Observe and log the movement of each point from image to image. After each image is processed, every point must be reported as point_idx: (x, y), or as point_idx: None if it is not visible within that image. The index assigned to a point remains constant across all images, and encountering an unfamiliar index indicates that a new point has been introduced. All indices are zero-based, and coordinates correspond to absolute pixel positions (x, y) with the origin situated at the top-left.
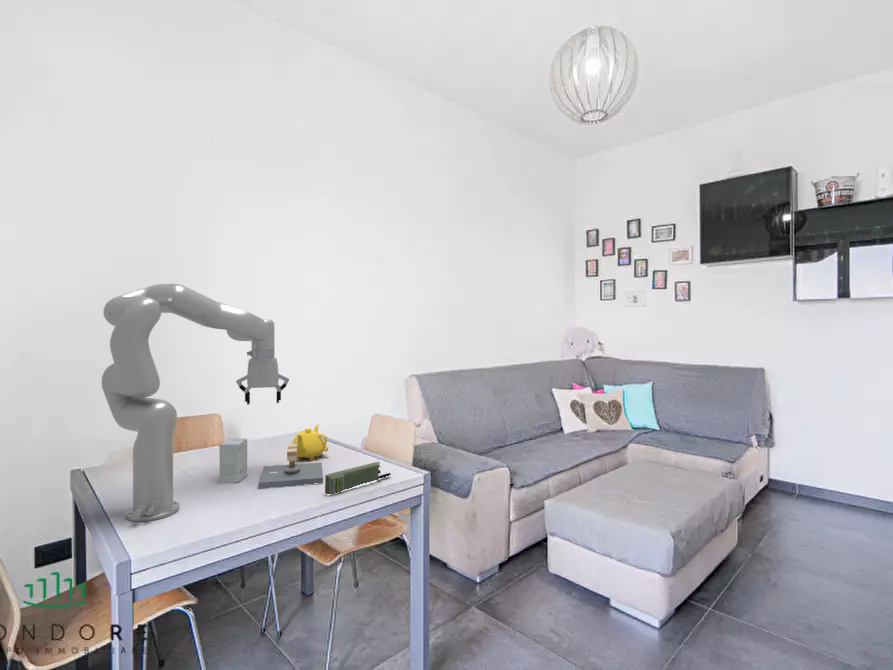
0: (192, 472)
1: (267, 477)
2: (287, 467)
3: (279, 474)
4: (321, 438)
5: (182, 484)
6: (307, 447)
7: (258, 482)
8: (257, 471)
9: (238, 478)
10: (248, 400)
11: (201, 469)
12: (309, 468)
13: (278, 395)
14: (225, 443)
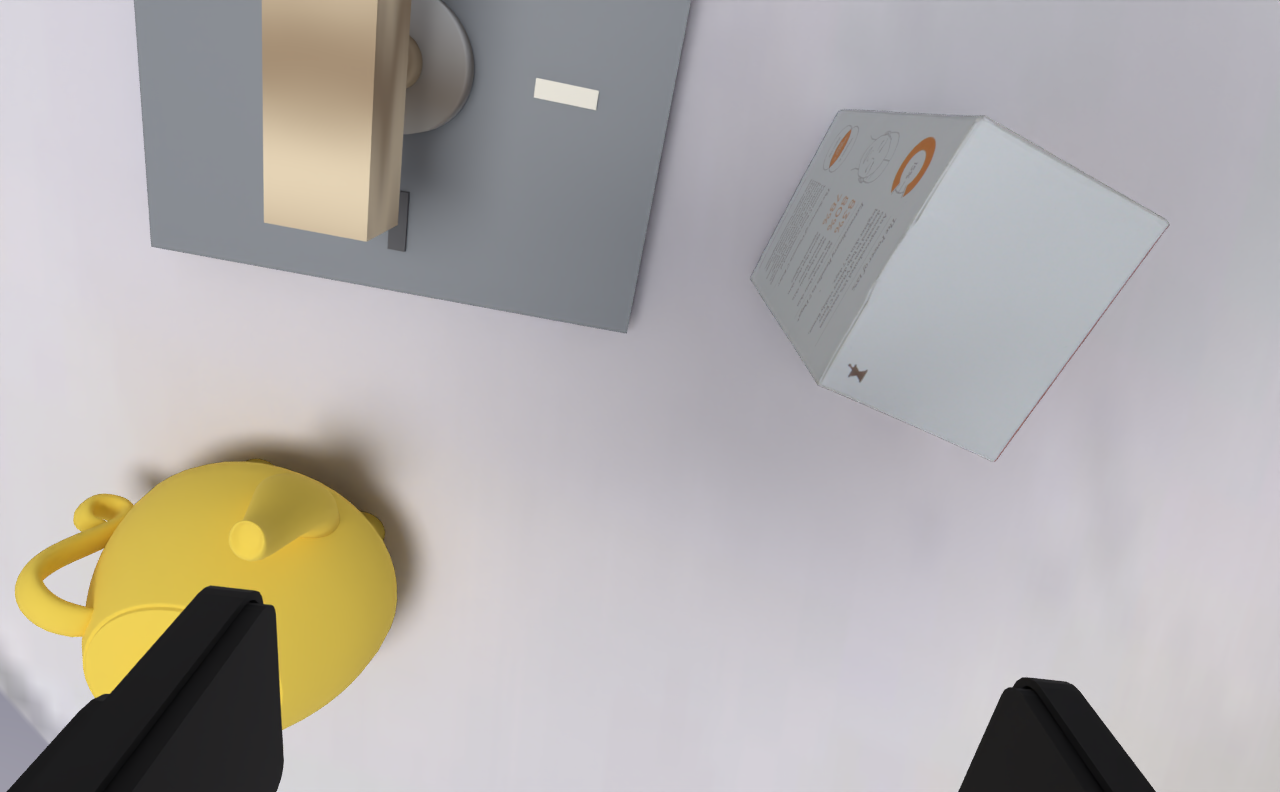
0: (1067, 503)
1: None
2: (439, 47)
3: (522, 26)
4: (86, 604)
5: (1191, 258)
6: (238, 499)
7: None
8: (668, 350)
9: (847, 111)
10: (1096, 762)
11: (1003, 544)
12: (255, 100)
13: (40, 782)
14: (1100, 235)
